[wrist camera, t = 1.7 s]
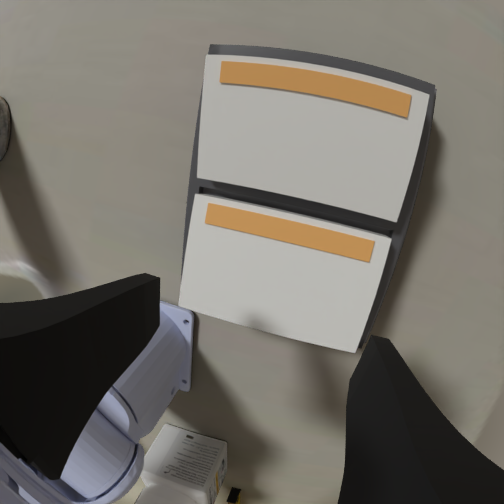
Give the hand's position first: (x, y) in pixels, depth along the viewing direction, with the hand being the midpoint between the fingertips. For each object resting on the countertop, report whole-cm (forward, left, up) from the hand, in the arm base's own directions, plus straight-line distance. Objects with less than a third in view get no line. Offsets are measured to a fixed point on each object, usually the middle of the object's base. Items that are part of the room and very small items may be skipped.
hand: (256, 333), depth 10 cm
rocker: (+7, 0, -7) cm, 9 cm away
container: (-29, +5, -11) cm, 31 cm away
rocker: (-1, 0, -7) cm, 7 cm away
